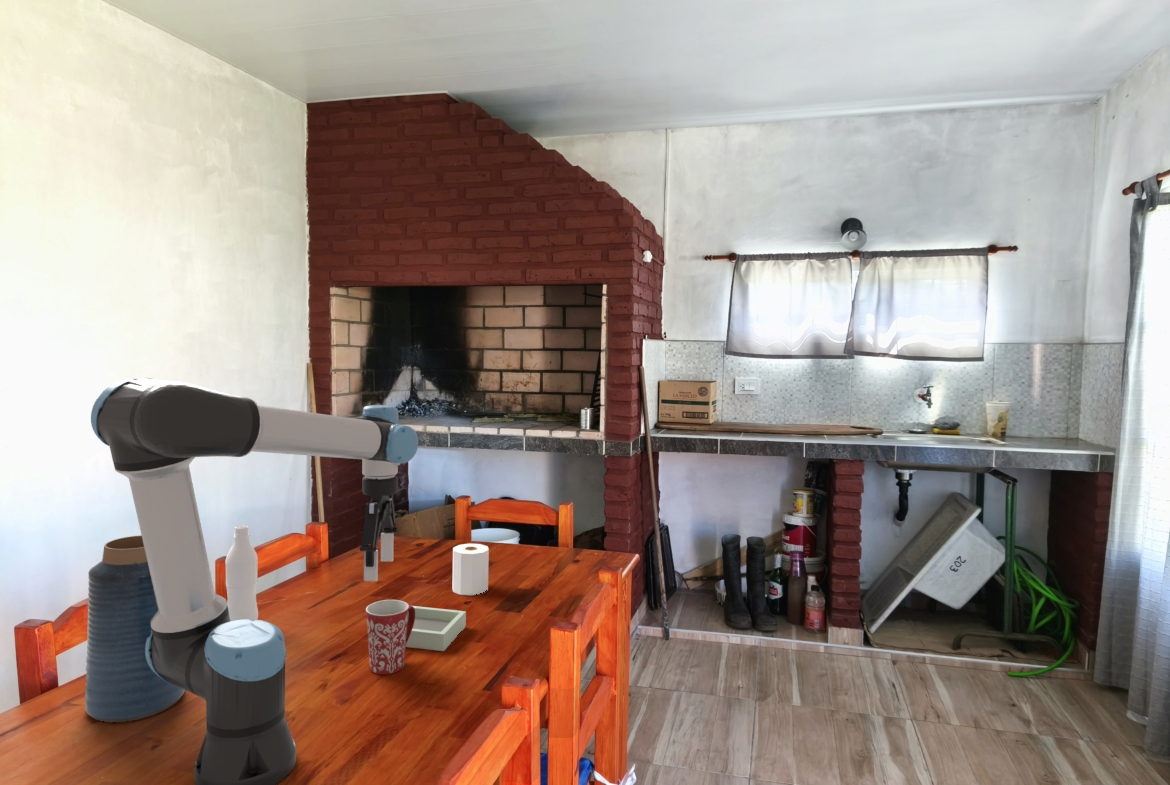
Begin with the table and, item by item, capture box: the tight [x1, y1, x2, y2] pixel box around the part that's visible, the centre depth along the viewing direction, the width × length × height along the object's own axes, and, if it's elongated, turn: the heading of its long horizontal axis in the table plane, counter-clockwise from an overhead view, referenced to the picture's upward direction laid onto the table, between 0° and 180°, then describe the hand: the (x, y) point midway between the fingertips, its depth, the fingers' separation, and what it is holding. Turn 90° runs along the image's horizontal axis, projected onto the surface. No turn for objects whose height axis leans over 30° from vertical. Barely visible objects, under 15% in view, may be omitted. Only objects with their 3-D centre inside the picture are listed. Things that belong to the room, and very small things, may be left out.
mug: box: [365, 599, 415, 675], centre depth 155 cm, size 13×9×14 cm
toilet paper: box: [451, 543, 490, 596], centre depth 203 cm, size 10×10×12 cm
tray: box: [405, 605, 467, 652], centre depth 171 cm, size 14×18×4 cm
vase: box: [84, 534, 186, 723], centre depth 135 cm, size 16×16×32 cm
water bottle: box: [224, 524, 259, 621], centre depth 172 cm, size 7×7×25 cm
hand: (379, 570), depth 157 cm, fingers open, 13 cm apart
